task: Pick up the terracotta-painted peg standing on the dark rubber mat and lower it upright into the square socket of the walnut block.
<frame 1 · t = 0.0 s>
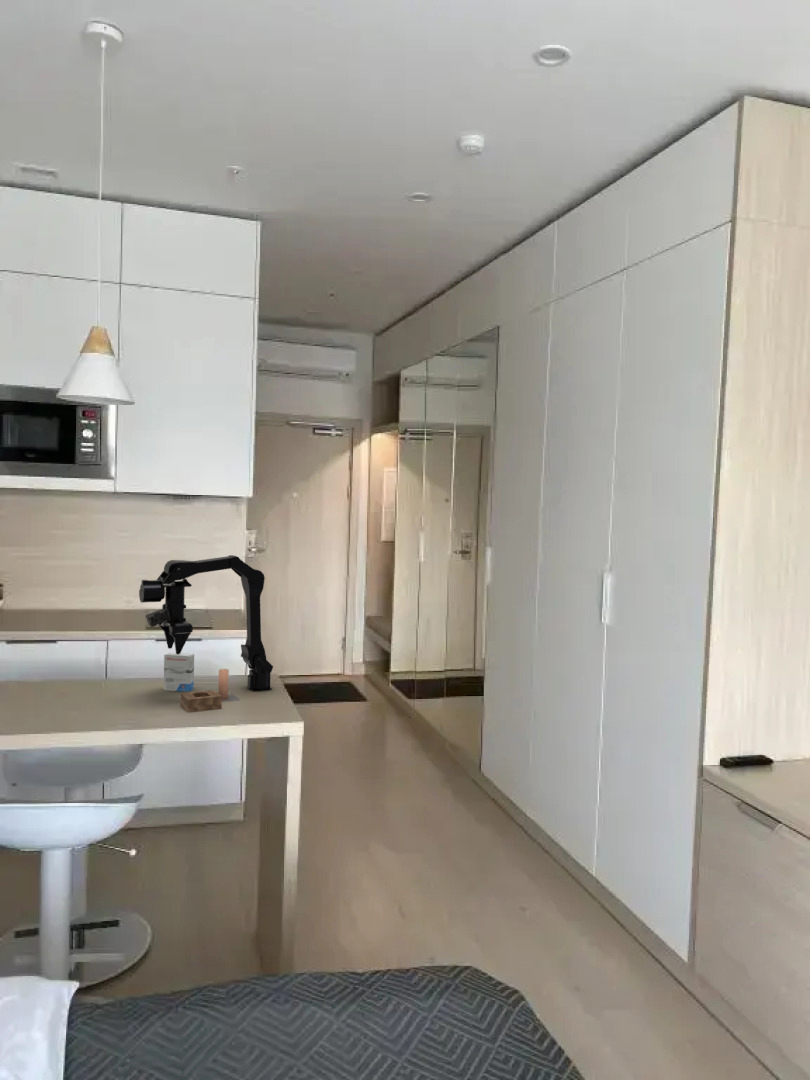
hand: (173, 651, 259), 15 cm above the breakfast bar, fingers open, 9 cm apart
mat: (224, 699, 261), on the breakfast bar
hole block: (200, 707, 250), on the breakfast bar
peg: (223, 698, 260), resting on mat
ink box: (178, 690, 270), on the breakfast bar
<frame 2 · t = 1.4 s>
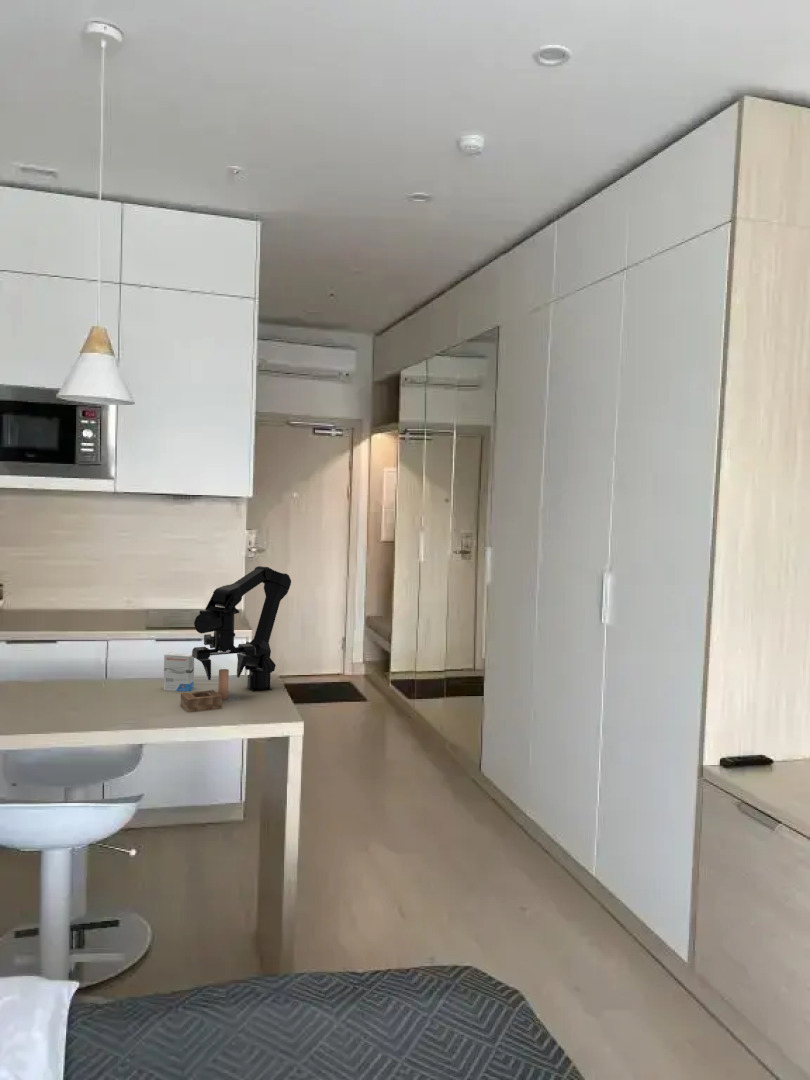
hand: (223, 678, 260), 7 cm above the breakfast bar, fingers open, 9 cm apart
nothing on the breakfast bar moved.
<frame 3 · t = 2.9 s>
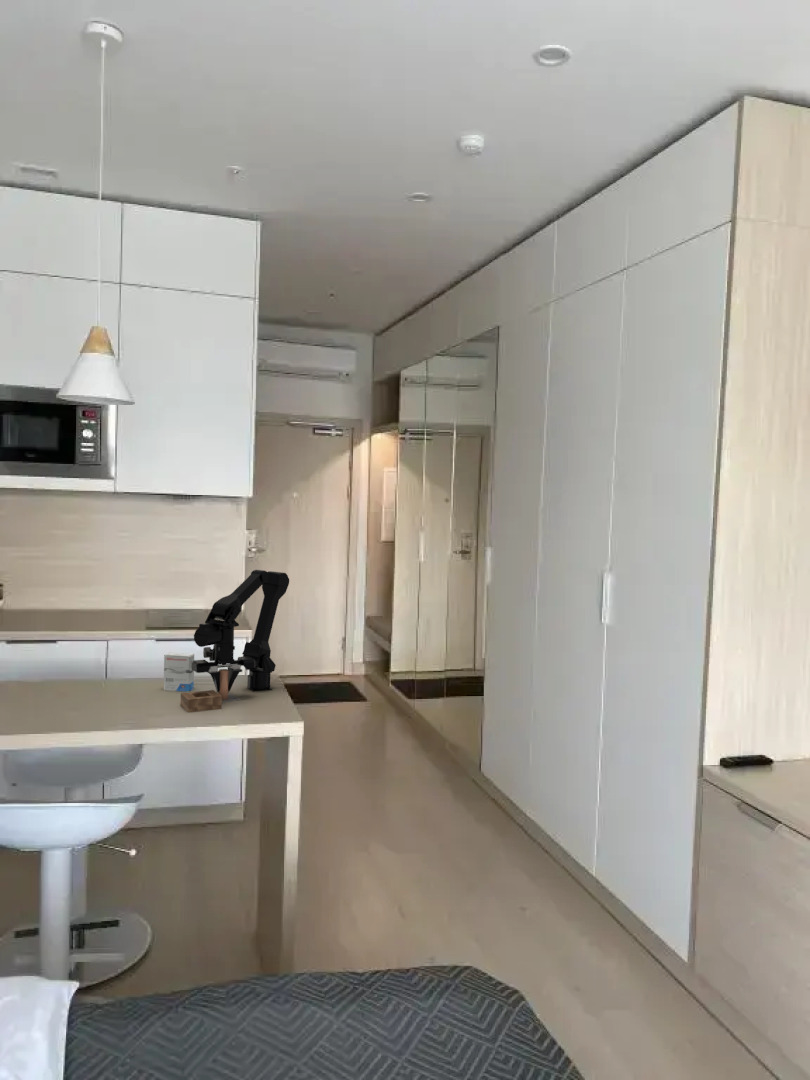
hand: (223, 691, 260), 3 cm above the breakfast bar, fingers closed on peg, 3 cm apart
peg: (223, 698, 260), resting on mat, touching gripper
everything else where it was.
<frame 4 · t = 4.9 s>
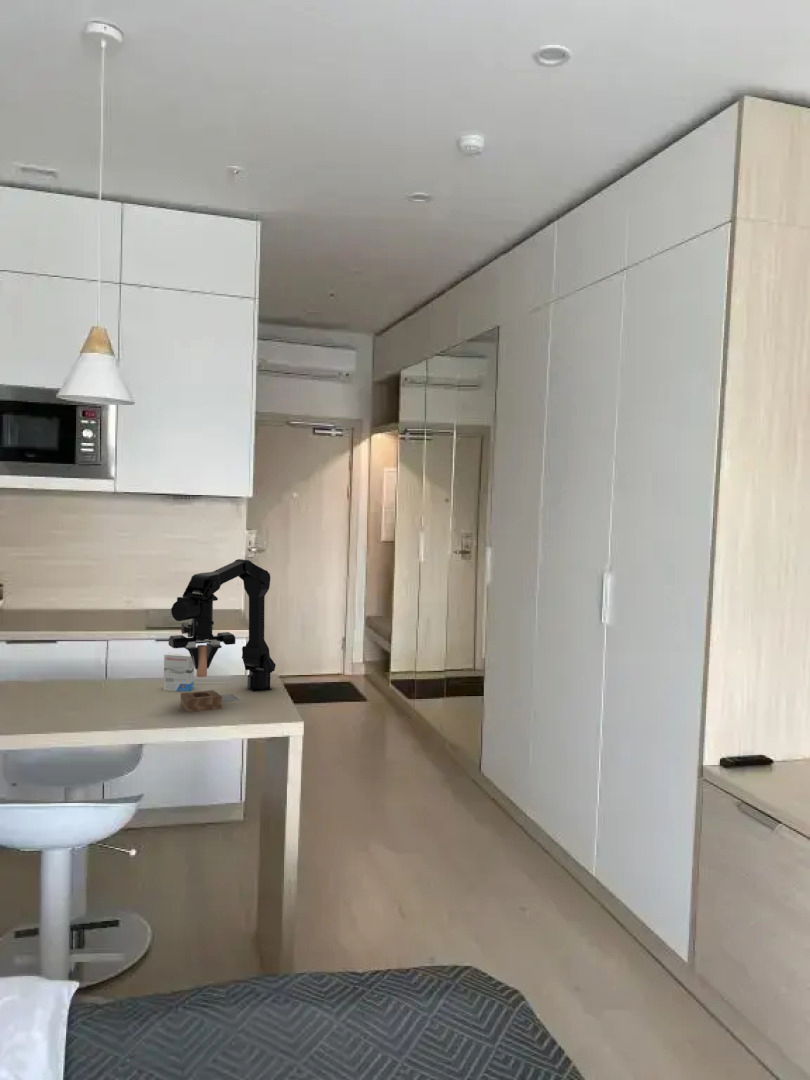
hand: (201, 668, 249), 12 cm above the breakfast bar, fingers closed on peg, 3 cm apart
peg: (201, 675, 249), point 10 cm above the breakfast bar, touching gripper
everything else where it was.
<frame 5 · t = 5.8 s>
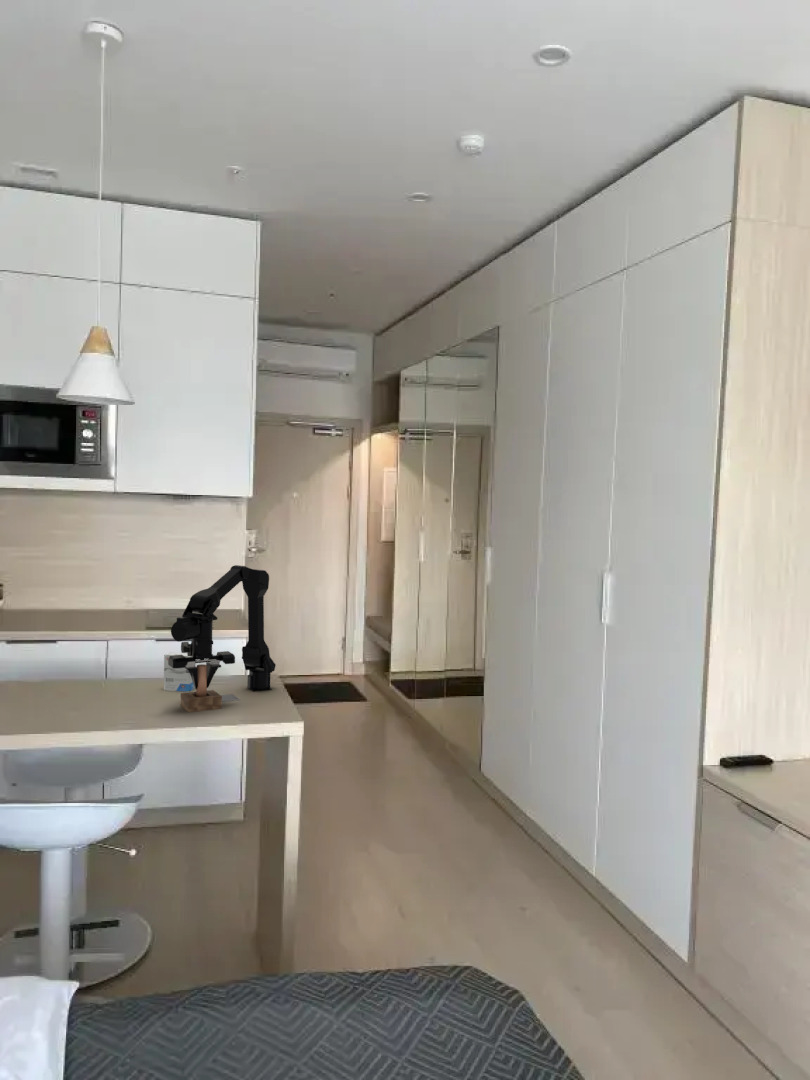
hand: (201, 688, 249), 6 cm above the breakfast bar, fingers closed on peg, 3 cm apart
peg: (201, 695, 249), point 4 cm above the breakfast bar, touching gripper
everything else where it was.
when the fingers open (5 cm above the breakfast bar, at t = 6.7 s): peg drops 3 cm, resting in hole block.
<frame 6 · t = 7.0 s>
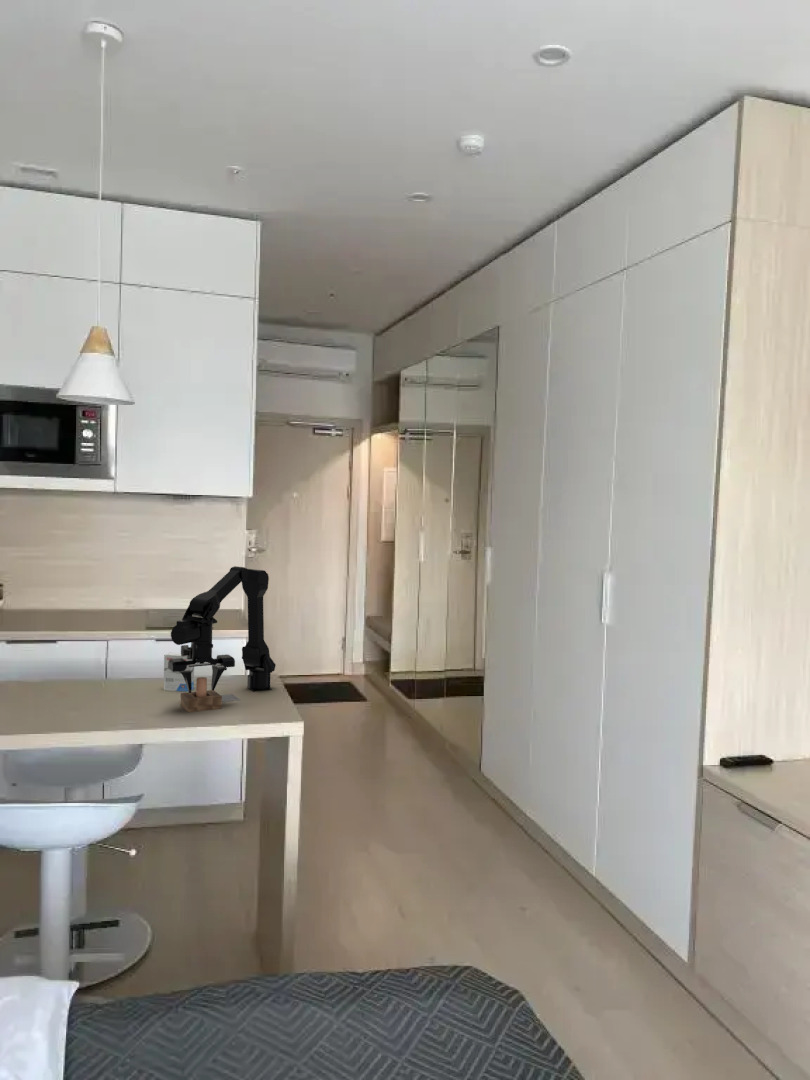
hand: (201, 691, 249), 5 cm above the breakfast bar, fingers open, 7 cm apart
peg: (201, 707, 250), resting in hole block
everything else where it was.
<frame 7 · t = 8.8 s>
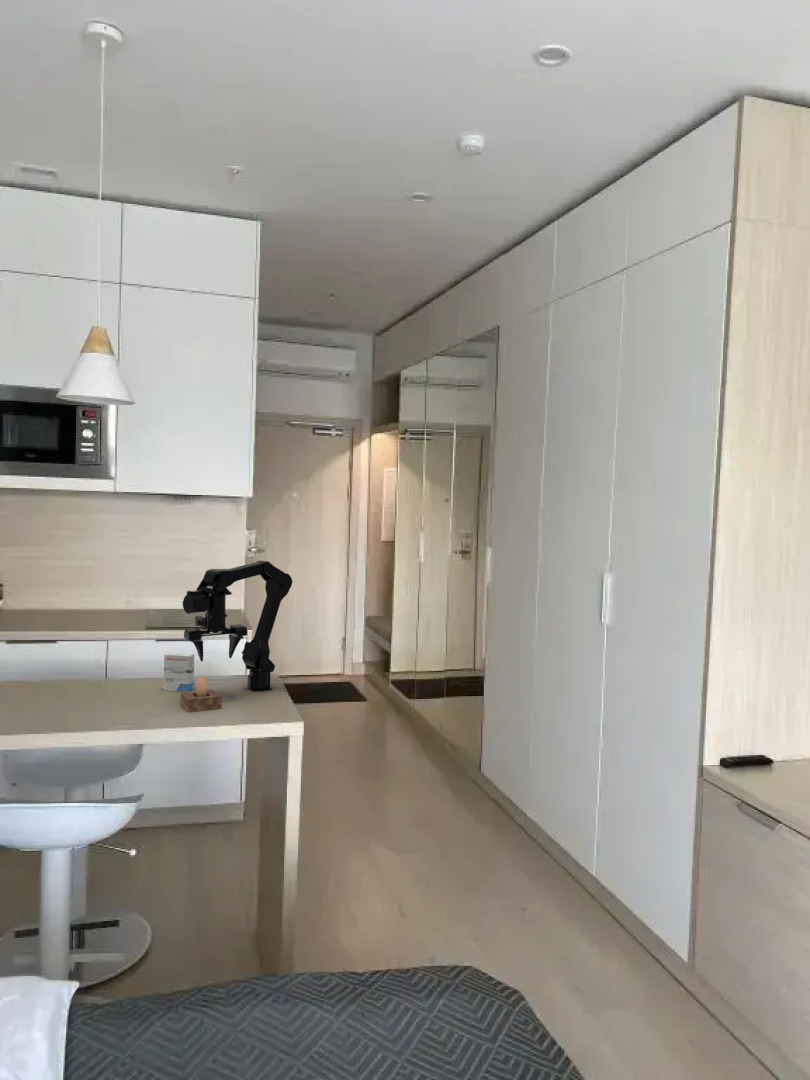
hand: (216, 659, 261), 12 cm above the breakfast bar, fingers open, 9 cm apart
nothing on the breakfast bar moved.
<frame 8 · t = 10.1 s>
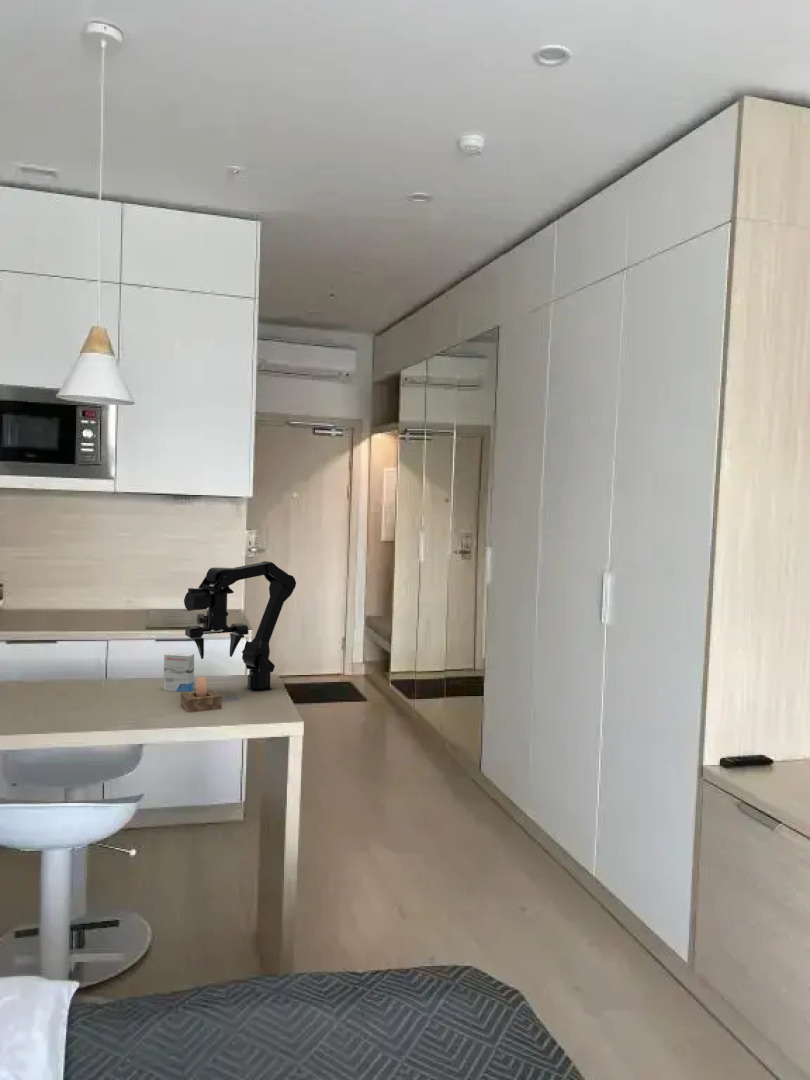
hand: (216, 657, 262), 13 cm above the breakfast bar, fingers open, 9 cm apart
nothing on the breakfast bar moved.
at the end: peg 0.1 cm off-centre on the hole block, point 0.0 cm above the hole block's base; peg tilted 0°; the gripper is holding nothing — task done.
